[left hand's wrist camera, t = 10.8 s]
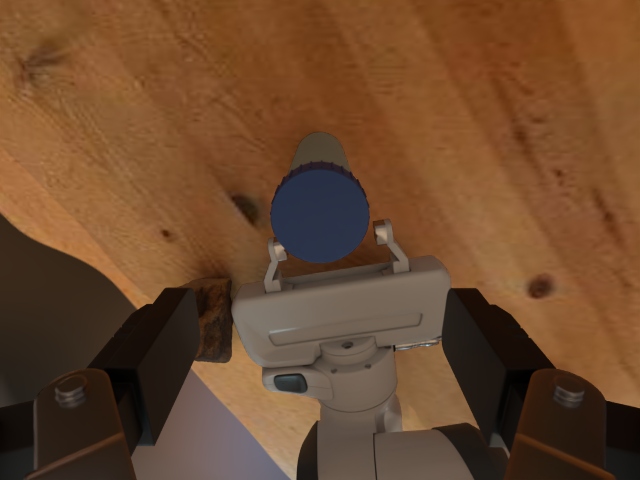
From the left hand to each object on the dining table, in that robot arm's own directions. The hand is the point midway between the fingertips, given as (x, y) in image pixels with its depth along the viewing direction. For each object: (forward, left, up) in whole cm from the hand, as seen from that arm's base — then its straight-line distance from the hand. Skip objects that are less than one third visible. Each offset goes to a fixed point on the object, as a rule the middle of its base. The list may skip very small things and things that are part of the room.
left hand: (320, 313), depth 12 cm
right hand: (+5, 0, -21) cm, 22 cm away
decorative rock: (+16, -14, -28) cm, 35 cm away
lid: (0, 0, -9) cm, 9 cm away
